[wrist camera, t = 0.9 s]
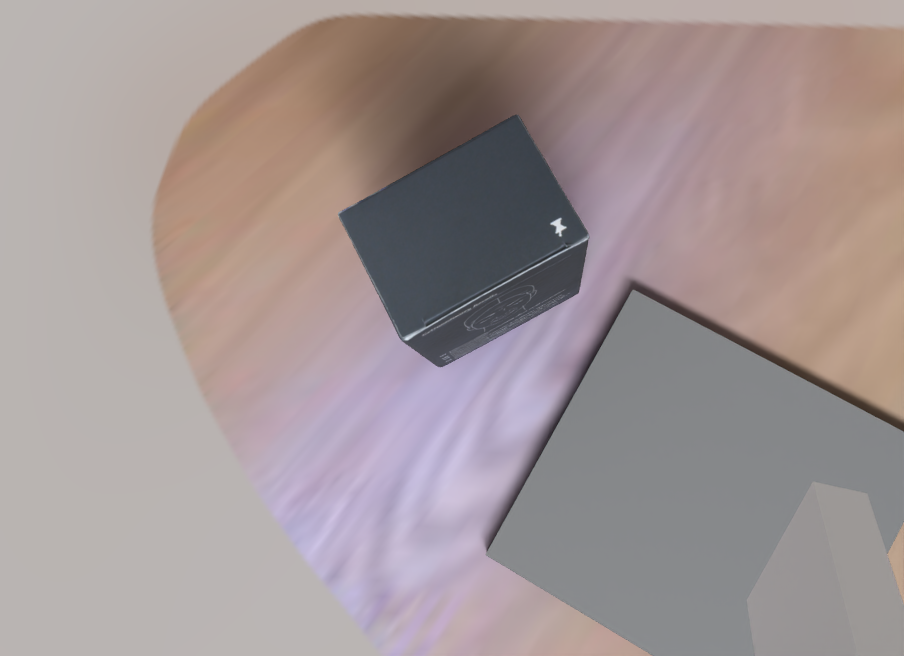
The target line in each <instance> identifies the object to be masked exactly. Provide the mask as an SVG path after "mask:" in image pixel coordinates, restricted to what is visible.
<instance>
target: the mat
mask: <svg viewBox="0 0 904 656" xmlns="http://www.w3.org/2000/svg"><path fill="white" fill-rule="evenodd" d="M812 482H818V483H822V484H827V485H831V486H836V487H841V488H845V489H850V490H854V491H859V492H863V493H867V494H868V497H869V501H870V504H871V507H872V510H873V513H874V516H875V519H876V522H877V525H878V528H879V531H880V534H881V537H882V540H883V543H884V546H885V549H886V552H887V554H888V552H889V550H890V548H891V546H892V544H893V542H894V540H895V538H896V536H897V534H898V532H899V530H900V528H901V526H902V524H903V522H904V432H903V431H902V430H900V429H898V428H896V427H894V426H892V425H890V424H888V423H886V422H884V421H883V420H881V419H879V418H877V417H875V416H873V415H871V414H869V413H867V412H865V411H864V410H862V409H860V408H858V407H856V406H854V405H852V404H850V403H848V402H846V401H844V400H843V399H841V398H839V397H837V396H835V395H833V394H831V393H829V392H827V391H825V390H824V389H822V388H820V387H818V386H816V385H814V384H812V383H810V382H808V381H806V380H805V379H803V378H801V377H799V376H797V375H795V374H793V373H791V372H789V371H787V370H786V369H784V368H782V367H780V366H778V365H776V364H774V363H772V362H770V361H768V360H767V359H765V358H763V357H761V356H759V355H757V354H755V353H753V352H751V351H749V350H748V349H746V348H744V347H742V346H740V345H738V344H736V343H734V342H732V341H730V340H729V339H727V338H725V337H723V336H721V335H719V334H717V333H715V332H713V331H711V330H710V329H708V328H706V327H704V326H702V325H700V324H698V323H696V322H694V321H692V320H690V319H689V318H687V317H685V316H683V315H681V314H679V313H677V312H675V311H673V310H671V309H670V308H668V307H666V306H664V305H662V304H660V303H658V302H656V301H654V300H652V299H651V298H649V297H647V296H645V295H643V294H641V293H639V292H637V291H635V290H632V292H631V293H630V295H629V297H628V299H627V301H626V302H625V304H624V306H623V308H622V310H621V311H620V313H619V315H618V317H617V319H616V320H615V322H614V324H613V326H612V328H611V329H610V331H609V333H608V335H607V337H606V338H605V340H604V342H603V344H602V346H601V347H600V349H599V351H598V353H597V355H596V356H595V358H594V360H593V362H592V364H591V365H590V367H589V369H588V371H587V373H586V374H585V376H584V378H583V380H582V382H581V383H580V385H579V387H578V389H577V391H576V392H575V394H574V396H573V398H572V400H571V401H570V403H569V405H568V407H567V409H566V410H565V412H564V414H563V416H562V418H561V419H560V421H559V423H558V425H557V427H556V428H555V430H554V432H553V434H552V436H551V437H550V439H549V441H548V443H547V445H546V446H545V448H544V450H543V452H542V454H541V455H540V457H539V459H538V461H537V463H536V464H535V466H534V468H533V470H532V472H531V473H530V475H529V477H528V479H527V481H526V482H525V484H524V486H523V488H522V490H521V491H520V493H519V495H518V497H517V499H516V501H515V502H514V504H513V506H512V508H511V510H510V511H509V513H508V515H507V517H506V519H505V520H504V522H503V524H502V526H501V528H500V529H499V531H498V533H497V535H496V537H495V538H494V540H493V542H492V544H491V546H490V547H489V549H488V551H487V553H486V555H487V556H488V557H490V558H492V559H493V560H495V561H497V562H498V563H500V564H502V565H503V566H505V567H507V568H508V569H510V570H512V571H513V572H515V573H516V574H518V575H520V576H521V577H523V578H525V579H526V580H528V581H530V582H531V583H533V584H535V585H536V586H538V587H540V588H541V589H543V590H545V591H546V592H548V593H550V594H551V595H553V596H555V597H556V598H558V599H560V600H561V601H563V602H565V603H566V604H568V605H570V606H571V607H573V608H575V609H576V610H578V611H580V612H581V613H583V614H585V615H586V616H588V617H590V618H591V619H593V620H595V621H596V622H598V623H600V624H601V625H603V626H604V627H606V628H608V629H609V630H611V631H613V632H614V633H616V634H618V635H619V636H621V637H623V638H624V639H626V640H628V641H629V642H631V643H633V644H634V645H636V646H638V647H639V648H641V649H643V650H644V651H646V652H648V653H649V654H651V655H653V656H755V654H754V647H753V640H752V633H751V626H750V619H749V612H748V605H747V598H748V597H749V595H750V593H751V591H752V589H753V588H754V586H755V584H756V582H757V581H758V579H759V577H760V575H761V573H762V572H763V570H764V568H765V566H766V564H767V563H768V561H769V559H770V557H771V555H772V554H773V552H774V550H775V548H776V547H777V545H778V543H779V541H780V539H781V538H782V536H783V534H784V532H785V530H786V529H787V527H788V525H789V523H790V521H791V520H792V518H793V516H794V514H795V513H796V511H797V509H798V507H799V505H800V504H801V502H802V500H803V498H804V496H805V495H806V493H807V491H808V489H809V488H810V486H811V484H812Z"/></svg>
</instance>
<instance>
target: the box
mask: <svg viewBox="0 0 904 656" xmlns="http://www.w3.org/2000/svg"><path fill="white" fill-rule="evenodd" d="M338 216H339V219H340V221H341V222H342V224H343V226H344V228H345V230H346V232H347V234H348V236H349V238H350V239H351V241H352V243H353V246H354V248H355V249H356V251H357V253H358V255H359V257H360V259H361V261H362V263H363V265H364V267H365V269H366V271H367V273H368V275H369V277H370V279H371V281H372V283H373V285H374V287H375V289H376V291H377V293H378V295H379V297H380V299H381V301H382V303H383V305H384V307H385V309H386V311H387V313H388V315H389V317H390V319H391V321H392V323H393V325H394V327H395V329H396V331H397V334H398V336H399V338H400V339H401V340H402V341H403V342H404V343H405V344H407V345H408V346H410V347H411V348H413V349H414V350H415V351H417V352H418V353H420V354H421V355H422V356H423V357H425V358H426V359H428V360H429V361H431V362H432V363H433V364H435V365H436V366H438V367H443V366H445V365H447V364H449V363H451V362H453V361H455V360H457V359H459V358H460V357H462V356H464V355H466V354H468V353H470V352H471V351H473V350H475V349H477V348H479V347H481V346H483V345H485V344H487V343H488V342H490V341H492V340H494V339H496V338H497V337H499V336H501V335H503V334H505V333H507V332H508V331H510V330H512V329H514V328H516V327H518V326H520V325H522V324H523V323H525V322H527V321H529V320H531V319H532V318H534V317H536V316H538V315H540V314H542V313H543V312H545V311H547V310H549V309H551V308H552V307H554V306H556V305H558V304H560V303H562V302H564V301H565V300H567V299H569V298H571V297H573V296H574V295H576V294H578V293H579V288H580V283H581V278H582V272H583V267H584V262H585V256H586V250H587V246H588V239H589V234H588V232H587V230H586V228H585V227H584V225H583V223H582V222H581V220H580V218H579V217H578V215H577V214H576V212H575V210H574V209H573V207H572V205H571V204H570V202H569V200H568V199H567V197H566V195H565V193H564V192H563V190H562V188H561V187H560V185H559V184H558V182H557V180H556V178H555V177H554V175H553V173H552V171H551V170H550V168H549V166H548V164H547V163H546V161H545V159H544V158H543V156H542V154H541V153H540V151H539V149H538V148H537V146H536V144H535V143H534V141H533V139H532V137H531V136H530V134H529V132H528V130H527V128H526V127H525V125H524V123H523V122H522V120H521V118H520V117H519V115H514V116H512V117H510V118H508V119H507V120H505V121H503V122H501V123H499V124H498V125H496V126H494V127H492V128H490V129H489V130H487V131H485V132H483V133H482V134H480V135H478V136H476V137H474V138H472V139H471V140H469V141H467V142H466V143H464V144H462V145H460V146H458V147H457V148H455V149H453V150H451V151H449V152H447V153H446V154H444V155H442V156H440V157H439V158H437V159H435V160H433V161H431V162H429V163H428V164H426V165H424V166H422V167H420V168H419V169H417V170H415V171H413V172H411V173H410V174H408V175H406V176H404V177H403V178H401V179H399V180H397V181H395V182H393V183H392V184H390V185H388V186H386V187H384V188H383V189H381V190H379V191H377V192H375V193H374V194H372V195H370V196H368V197H367V198H365V199H363V200H361V201H359V202H357V203H355V204H354V205H352V206H350V207H348V208H346V209H344V210H342V211H340V212H339V213H338Z"/></svg>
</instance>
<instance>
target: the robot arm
mask: <svg viewBox="0 0 904 656" xmlns="http://www.w3.org/2000/svg"><path fill="white" fill-rule="evenodd" d="M747 605H748V612H749V619H750V626H751V633H752V640H753V647H754V654H755V656H904V604H903V601H902V598H901V595H900V592H899V589H898V586H897V583H896V580H895V577H894V574H893V571H892V567H891V564H890V561H889V558H888V555H887V552H886V549H885V546H884V543H883V540H882V537H881V534H880V531H879V528H878V525H877V522H876V519H875V516H874V513H873V510H872V507H871V504H870V501H869V497H868V494H867V493H863V492H859V491H854V490H850V489H845V488H841V487H836V486H831V485H827V484H822V483H818V482H812V484H811V486H810V488H809V489H808V491H807V493H806V495H805V496H804V498H803V500H802V502H801V504H800V505H799V507H798V509H797V511H796V513H795V514H794V516H793V518H792V520H791V521H790V523H789V525H788V527H787V529H786V530H785V532H784V534H783V536H782V538H781V539H780V541H779V543H778V545H777V547H776V548H775V550H774V552H773V554H772V555H771V557H770V559H769V561H768V563H767V564H766V566H765V568H764V570H763V572H762V573H761V575H760V577H759V579H758V581H757V582H756V584H755V586H754V588H753V589H752V591H751V593H750V595H749V597H748V598H747Z"/></svg>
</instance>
